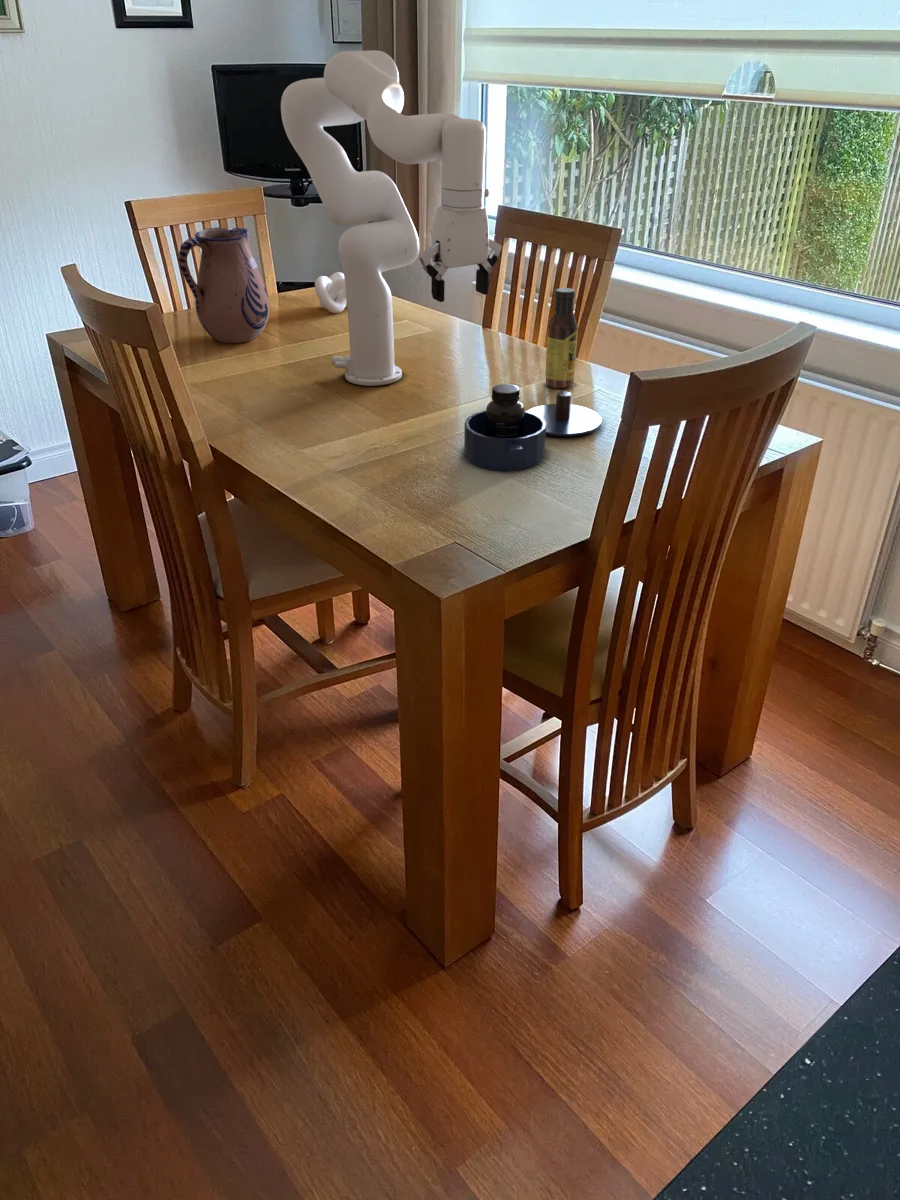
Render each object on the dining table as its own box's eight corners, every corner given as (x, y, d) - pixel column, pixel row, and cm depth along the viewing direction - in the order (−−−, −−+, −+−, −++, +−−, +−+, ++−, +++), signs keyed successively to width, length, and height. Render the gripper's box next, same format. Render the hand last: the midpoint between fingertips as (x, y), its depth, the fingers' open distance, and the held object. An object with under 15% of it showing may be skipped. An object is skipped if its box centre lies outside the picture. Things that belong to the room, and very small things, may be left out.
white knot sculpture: (339, 318, 236) (336, 283, 231) (304, 311, 241) (301, 277, 236) (365, 308, 244) (363, 274, 239) (331, 302, 249) (328, 268, 244)
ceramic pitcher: (287, 334, 224) (276, 228, 210) (227, 358, 209) (211, 245, 195) (236, 324, 232) (222, 221, 218) (175, 345, 217) (155, 236, 203)
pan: (473, 480, 154) (474, 448, 151) (457, 435, 170) (457, 405, 167) (555, 475, 156) (557, 443, 152) (531, 431, 172) (533, 401, 169)
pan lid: (531, 441, 168) (533, 410, 165) (515, 411, 181) (516, 381, 177) (611, 436, 170) (614, 406, 166) (589, 407, 182) (592, 378, 179)
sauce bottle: (572, 390, 190) (579, 295, 179) (543, 388, 191) (548, 293, 180) (575, 380, 196) (582, 286, 185) (546, 378, 197) (551, 285, 186)
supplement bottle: (483, 444, 165) (484, 381, 159) (519, 443, 166) (522, 380, 159) (487, 460, 160) (489, 395, 153) (525, 458, 160) (528, 394, 154)
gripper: (490, 190, 165) (487, 285, 174) (409, 199, 157) (410, 298, 167) (514, 197, 159) (509, 295, 169) (431, 207, 152) (431, 308, 161)
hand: (460, 296), depth 168 cm, fingers open, 9 cm apart
